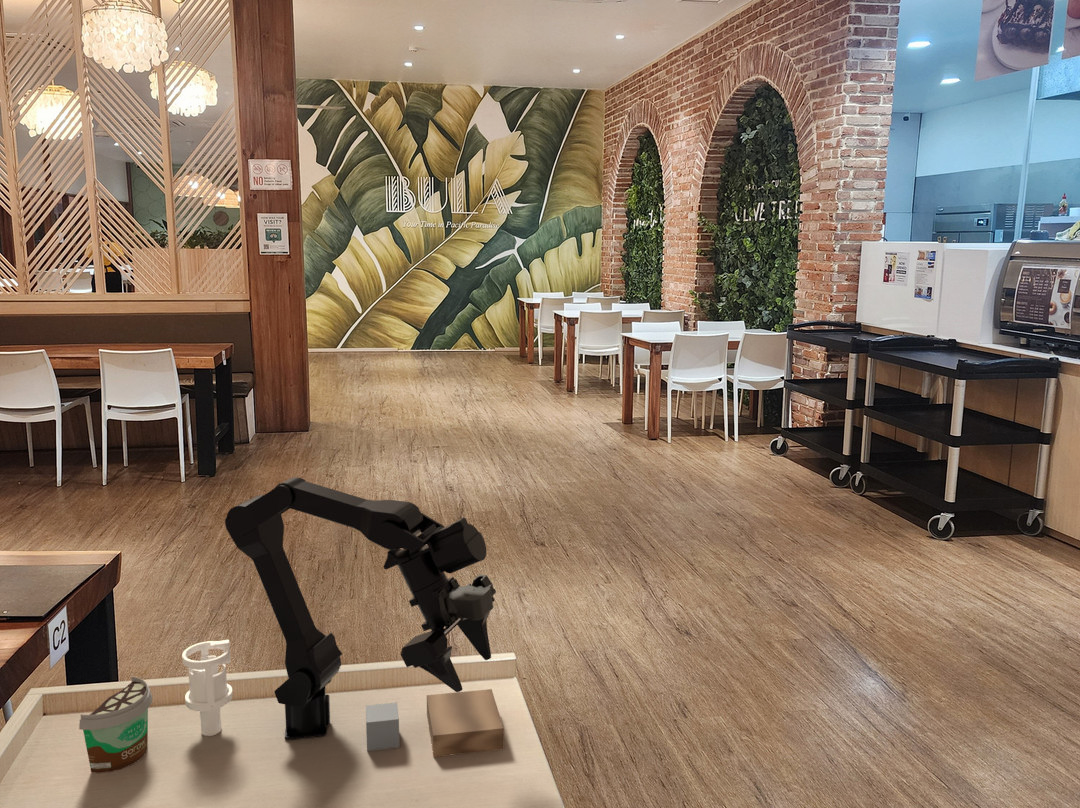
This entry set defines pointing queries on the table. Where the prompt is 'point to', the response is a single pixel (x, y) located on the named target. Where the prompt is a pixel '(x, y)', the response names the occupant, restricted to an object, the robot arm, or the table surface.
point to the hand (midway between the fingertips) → (474, 674)
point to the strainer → (208, 684)
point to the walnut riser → (464, 722)
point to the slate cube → (382, 726)
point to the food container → (118, 728)
